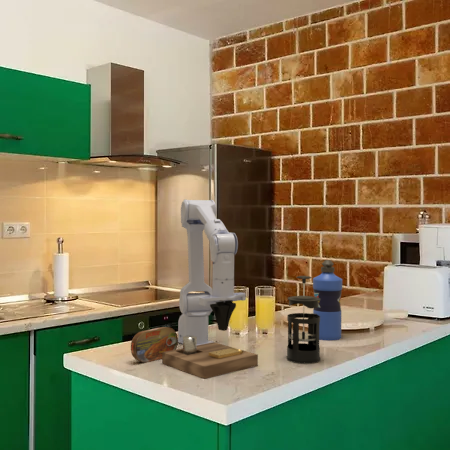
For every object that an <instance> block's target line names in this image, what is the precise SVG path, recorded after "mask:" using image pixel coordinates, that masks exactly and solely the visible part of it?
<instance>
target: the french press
mask: <svg viewBox="0 0 450 450" xmlns="http://www.w3.org/2000/svg"><path fill="white" fill-rule="evenodd" d="M296 279H301V280H302V282H301V283H302V284H303V285H302V286H303V291H302V294H303V295H296V296H295V295H294V296H287V300H288V305H289V307H291V305H301V304H302V312H297V313H295V312H294V313H289V314H287V315H286V316H287V317H286V318H287V319H286V320H287V346H286V357H285V359H286V360H287V361H288V362H291V363H295V364H304V365H305V364H306V365H307V364H315V363H316V364H317V363H319V362H320V361H321V357H320V354H321V353H320V352H321V349H320V348H321V347H320V340H319V322H320V316H319V315H317V314H313V312H312V313H309V312H308V313H307V312H305V307H306V308H307V309H314V308H317V307H319V301H320V298H317V297H314V296H310V295H305V294H306V293H305V292H306V291H305V289H306V287H305V286H306V285H305V284H306V283H307V280H309V279H313V278H312V276H309V275H299V276H296ZM300 325H302V332H299V331H300ZM305 325H307V332H306V331H305ZM299 342H301V343H299ZM303 342H307V343H303Z"/></svg>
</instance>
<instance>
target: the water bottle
mask: <svg viewBox="0 0 450 450" xmlns="http://www.w3.org/2000/svg"><path fill="white" fill-rule="evenodd" d="M321 265H322V266H321V267H320V272H321V273H320V274H319V275H317V276H315V277H313V278H312V289H313V297H317V298H320V301H319V307H317V308H312V309H313V310H312V313H313V314H317V315H319V316H320V322H319V341H337V340H338V341H339V340H341V339H342V306H341V298H342V290H343V278H341V277H339V276H338V275H336V274H335V267H334V265H335V264H334V262H333V261H332V260H331V259H325V260H324V261H323V262H322V263H321Z"/></svg>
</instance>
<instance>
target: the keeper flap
mask: <svg viewBox="0 0 450 450" xmlns="http://www.w3.org/2000/svg"><path fill="white" fill-rule="evenodd" d="M230 347H231V348H230V349H224V350H219V351H214V352H209V356H212V357H215V358H218V359H219V358H224V357H229V356H234V355H239V354H242V353H243V351H244V350H243V349H239V348H236V347H232V346H230Z"/></svg>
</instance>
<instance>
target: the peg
mask: <svg viewBox="0 0 450 450" xmlns="http://www.w3.org/2000/svg"><path fill="white" fill-rule="evenodd" d="M182 346H183V347H182V348H183V354H185V355H190V354H195V353H197V337H196V336H192V335H188V336H184V337H183V344H182Z"/></svg>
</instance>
